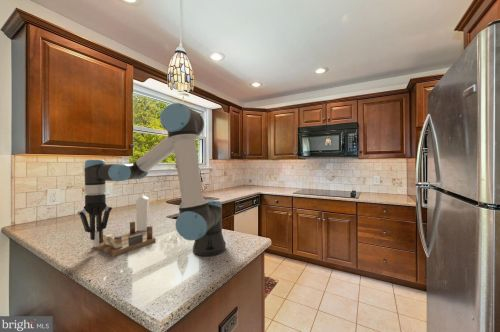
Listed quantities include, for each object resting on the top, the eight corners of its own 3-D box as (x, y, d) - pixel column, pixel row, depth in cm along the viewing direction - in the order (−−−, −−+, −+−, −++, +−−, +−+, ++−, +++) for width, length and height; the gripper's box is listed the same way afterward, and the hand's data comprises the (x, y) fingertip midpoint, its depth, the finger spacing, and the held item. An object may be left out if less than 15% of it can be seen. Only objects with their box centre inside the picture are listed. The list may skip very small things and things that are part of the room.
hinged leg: (122, 246, 97) (122, 236, 97) (116, 248, 94) (116, 238, 94) (109, 241, 103) (109, 232, 103) (102, 243, 101) (102, 233, 101)
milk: (136, 231, 127) (135, 194, 127) (139, 228, 133) (139, 193, 133) (147, 230, 128) (146, 194, 128) (149, 227, 134) (149, 193, 134)
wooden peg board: (155, 241, 109) (155, 226, 109) (114, 256, 92) (114, 237, 92) (134, 235, 120) (134, 221, 120) (93, 246, 103) (93, 230, 103)
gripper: (107, 191, 102) (107, 240, 102) (74, 195, 91) (74, 249, 91) (115, 192, 98) (115, 243, 99) (81, 196, 87) (82, 253, 87)
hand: (95, 246), depth 95 cm, fingers closed
